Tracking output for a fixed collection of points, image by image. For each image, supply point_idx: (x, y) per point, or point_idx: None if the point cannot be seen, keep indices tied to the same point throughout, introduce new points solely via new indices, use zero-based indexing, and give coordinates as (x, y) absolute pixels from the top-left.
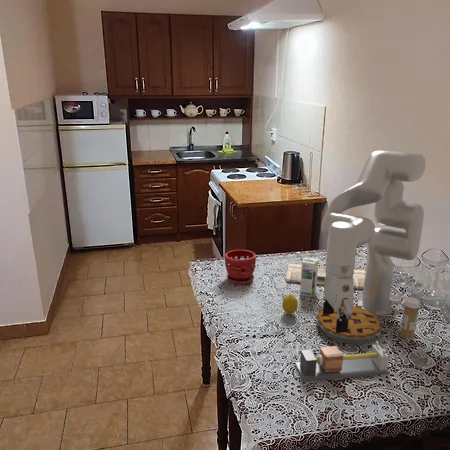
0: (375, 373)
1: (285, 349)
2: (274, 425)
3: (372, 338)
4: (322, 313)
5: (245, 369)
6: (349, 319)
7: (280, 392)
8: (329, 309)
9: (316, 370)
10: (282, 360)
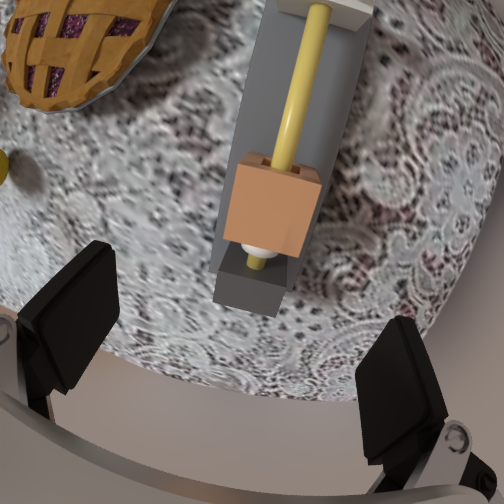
0: (362, 56)
1: (136, 252)
2: None
3: None
4: (21, 84)
5: (197, 361)
6: (469, 436)
7: (298, 345)
8: (93, 309)
9: None
10: (182, 285)
